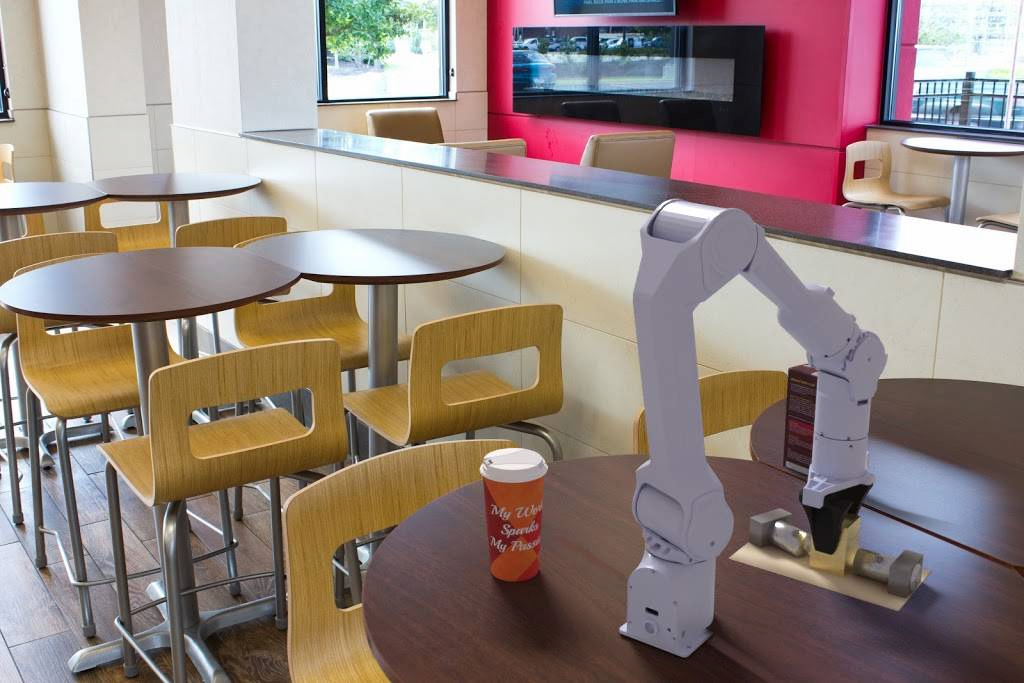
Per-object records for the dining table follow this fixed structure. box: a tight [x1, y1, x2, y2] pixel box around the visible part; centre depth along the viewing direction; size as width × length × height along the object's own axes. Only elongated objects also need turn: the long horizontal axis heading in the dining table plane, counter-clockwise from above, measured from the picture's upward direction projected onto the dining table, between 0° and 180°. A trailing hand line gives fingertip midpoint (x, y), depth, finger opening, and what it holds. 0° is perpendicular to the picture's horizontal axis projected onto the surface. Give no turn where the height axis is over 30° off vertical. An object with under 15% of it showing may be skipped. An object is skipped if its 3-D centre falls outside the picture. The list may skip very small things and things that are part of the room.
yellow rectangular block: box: [809, 513, 862, 578], centre depth 116 cm, size 4×4×6 cm
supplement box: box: [782, 362, 819, 477], centre depth 142 cm, size 9×5×16 cm, turn 34°
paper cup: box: [479, 447, 549, 583], centre depth 117 cm, size 8×8×14 cm
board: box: [727, 507, 932, 612], centre depth 117 cm, size 11×20×4 cm, turn 51°
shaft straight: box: [853, 547, 921, 592], centre depth 113 cm, size 6×3×3 cm, turn 51°
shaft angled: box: [768, 520, 812, 558], centre depth 121 cm, size 6×3×3 cm, turn 31°
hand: (832, 544), depth 116 cm, fingers closed on yellow rectangular block, 4 cm apart
